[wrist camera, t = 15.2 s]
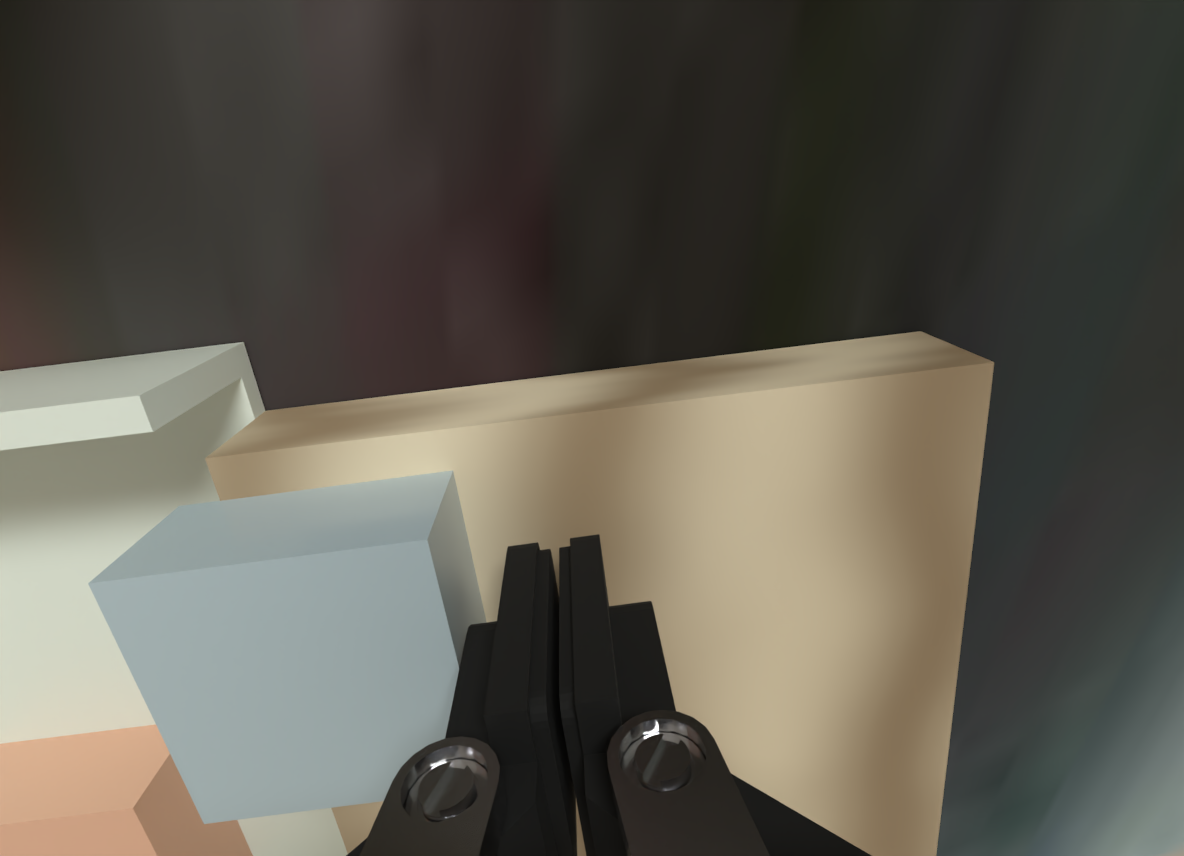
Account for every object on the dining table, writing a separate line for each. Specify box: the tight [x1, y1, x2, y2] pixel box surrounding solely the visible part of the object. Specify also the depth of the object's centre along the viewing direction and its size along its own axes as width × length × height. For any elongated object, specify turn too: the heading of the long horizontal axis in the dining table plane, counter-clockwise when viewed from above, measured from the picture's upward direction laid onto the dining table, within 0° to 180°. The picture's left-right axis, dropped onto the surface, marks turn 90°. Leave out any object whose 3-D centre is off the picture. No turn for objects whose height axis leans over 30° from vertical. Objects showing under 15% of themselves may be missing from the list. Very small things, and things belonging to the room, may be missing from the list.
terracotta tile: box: [0, 724, 253, 856], centre depth 16 cm, size 5×5×2 cm
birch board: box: [205, 331, 994, 856], centre depth 15 cm, size 14×13×2 cm
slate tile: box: [88, 470, 487, 824], centre depth 11 cm, size 5×5×2 cm
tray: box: [0, 342, 348, 856], centre depth 14 cm, size 11×16×4 cm
